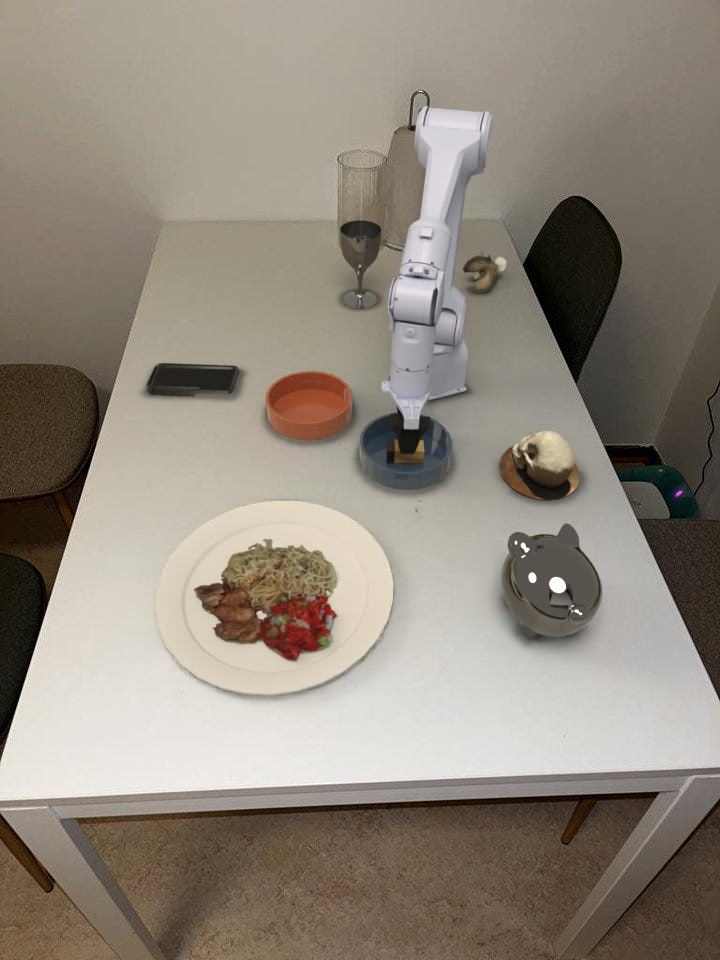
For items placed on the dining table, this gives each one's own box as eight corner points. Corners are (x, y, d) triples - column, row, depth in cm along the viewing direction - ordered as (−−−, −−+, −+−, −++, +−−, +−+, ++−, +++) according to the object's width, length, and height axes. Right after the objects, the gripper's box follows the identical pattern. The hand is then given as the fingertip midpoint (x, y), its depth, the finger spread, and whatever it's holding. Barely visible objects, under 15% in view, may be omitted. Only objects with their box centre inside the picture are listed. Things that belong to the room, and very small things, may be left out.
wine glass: (386, 296, 143) (389, 226, 132) (366, 313, 138) (367, 242, 128) (354, 286, 146) (354, 217, 135) (333, 302, 141) (331, 231, 131)
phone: (156, 362, 123) (239, 365, 123) (157, 367, 124) (240, 370, 123) (144, 389, 118) (231, 392, 117) (145, 394, 118) (232, 397, 118)
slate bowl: (425, 423, 114) (427, 404, 111) (465, 478, 104) (469, 458, 101) (346, 444, 110) (346, 424, 107) (381, 502, 100) (382, 483, 98)
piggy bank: (555, 559, 93) (575, 500, 85) (608, 654, 83) (635, 597, 75) (477, 573, 91) (489, 514, 83) (520, 672, 81) (539, 616, 73)
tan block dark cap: (422, 452, 107) (423, 439, 106) (423, 464, 106) (424, 451, 104) (386, 451, 107) (387, 439, 106) (386, 463, 106) (387, 450, 104)
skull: (479, 453, 107) (526, 403, 103) (516, 474, 113) (560, 428, 110) (520, 503, 98) (572, 451, 95) (557, 522, 105) (606, 474, 102)
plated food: (254, 482, 103) (251, 465, 101) (433, 563, 92) (435, 547, 90) (106, 627, 85) (99, 611, 82) (308, 750, 74) (306, 736, 72)
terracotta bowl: (334, 382, 121) (334, 363, 119) (364, 430, 112) (365, 411, 109) (257, 400, 118) (255, 381, 115) (282, 451, 108) (280, 432, 105)
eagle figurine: (468, 264, 151) (453, 274, 144) (490, 240, 146) (476, 249, 140) (492, 290, 151) (477, 301, 144) (515, 267, 146) (501, 277, 140)
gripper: (382, 330, 99) (379, 404, 109) (383, 391, 89) (380, 467, 98) (431, 330, 99) (424, 405, 109) (437, 392, 89) (429, 468, 98)
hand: (406, 435), depth 103 cm, fingers open, 7 cm apart
